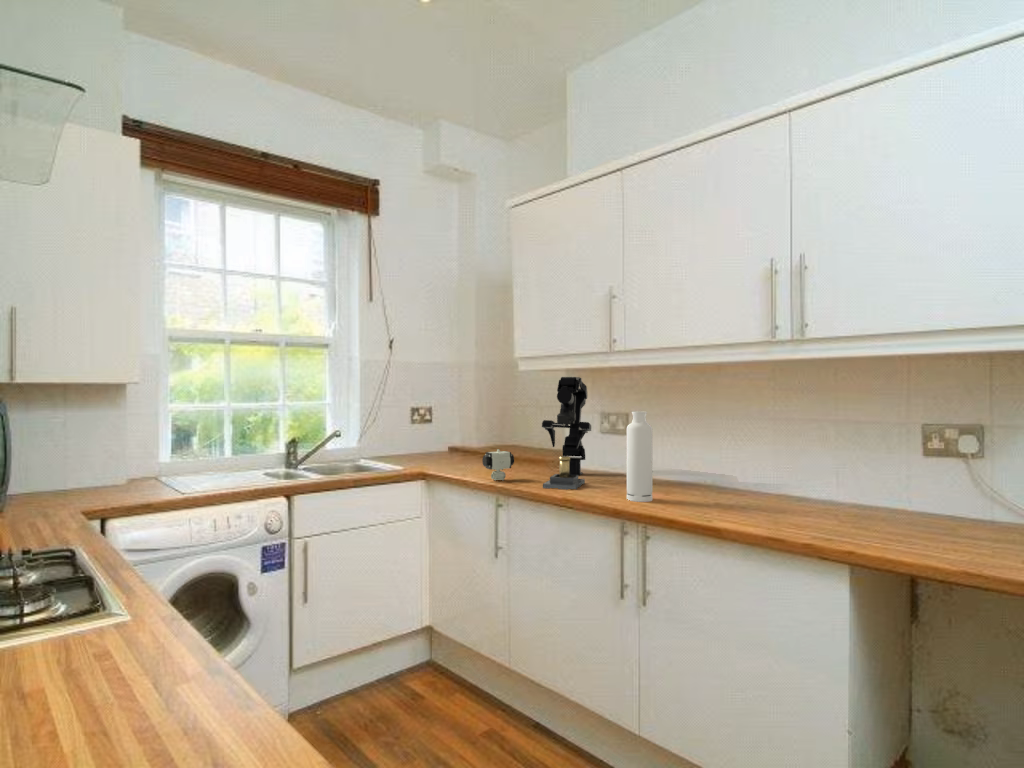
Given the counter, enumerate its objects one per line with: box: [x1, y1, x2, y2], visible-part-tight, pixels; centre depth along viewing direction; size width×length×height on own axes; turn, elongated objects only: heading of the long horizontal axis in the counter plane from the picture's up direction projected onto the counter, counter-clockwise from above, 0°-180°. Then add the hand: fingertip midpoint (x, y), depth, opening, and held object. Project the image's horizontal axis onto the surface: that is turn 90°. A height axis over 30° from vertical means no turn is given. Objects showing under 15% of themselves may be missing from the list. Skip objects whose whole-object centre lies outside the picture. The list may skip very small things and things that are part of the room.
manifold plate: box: [542, 473, 586, 490], centre depth 210 cm, size 16×12×4 cm
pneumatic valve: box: [482, 449, 515, 481], centre depth 222 cm, size 6×12×12 cm, turn 116°
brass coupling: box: [558, 455, 571, 478], centre depth 210 cm, size 4×4×9 cm
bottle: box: [626, 411, 653, 503], centre depth 183 cm, size 8×8×28 cm
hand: (565, 447), depth 222 cm, fingers open, 9 cm apart
